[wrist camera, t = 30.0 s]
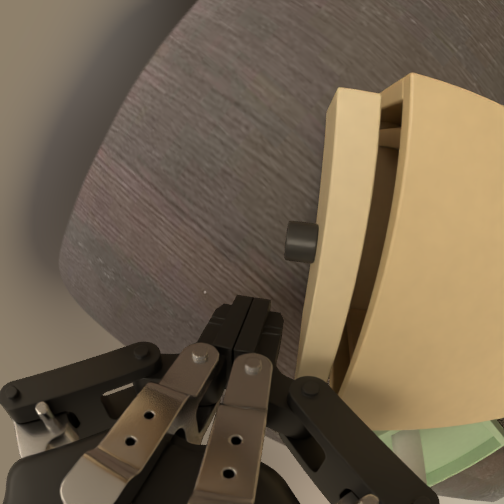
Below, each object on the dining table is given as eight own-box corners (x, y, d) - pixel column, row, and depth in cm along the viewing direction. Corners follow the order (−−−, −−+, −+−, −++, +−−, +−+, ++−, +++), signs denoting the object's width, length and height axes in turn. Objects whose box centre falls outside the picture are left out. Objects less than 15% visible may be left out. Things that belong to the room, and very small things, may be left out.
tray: (333, 435, 22) (332, 456, 20) (452, 364, 17) (461, 386, 15) (421, 475, 24) (422, 489, 22) (502, 428, 19) (507, 442, 17)
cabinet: (328, 316, 17) (327, 429, 10) (359, 105, 13) (410, 70, 5) (500, 329, 15) (546, 406, 7) (548, 167, 10) (632, 201, 3)
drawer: (282, 309, 17) (262, 396, 11) (301, 107, 13) (291, 82, 6) (485, 328, 14) (523, 395, 8) (532, 167, 10) (606, 194, 4)
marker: (390, 436, 21) (392, 567, 8) (388, 422, 20) (392, 566, 7) (418, 429, 20) (429, 558, 7) (418, 414, 19) (433, 556, 6)
